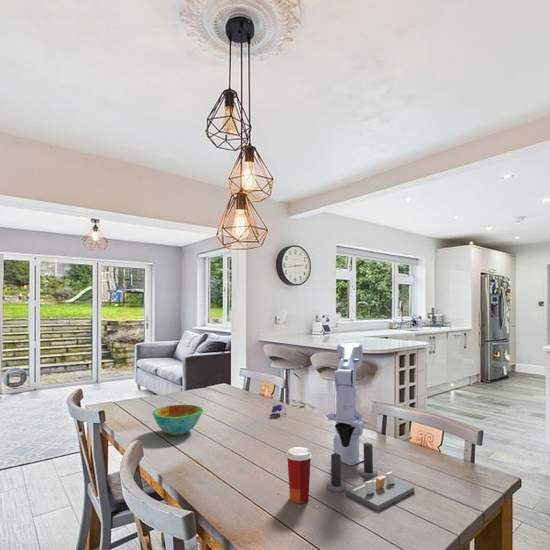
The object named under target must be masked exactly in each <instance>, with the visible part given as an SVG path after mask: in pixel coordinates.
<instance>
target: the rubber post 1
mask: <svg viewBox="0 0 550 550" xmlns="http://www.w3.org/2000/svg"><path fill="white" fill-rule="evenodd" d="M341 463H342V462H341V456H340V455H339V454H334V453H331V454H330V464H331V465H330V468H331V469H330V470H331V471H330V472H331V475H330V476H331V477H330V479H331V480H329V481H327V482H326V489H327V491H329V492H332V493H342V491H343V492H345V491H346V490H345V489H347V486H346V483H345V482H344V481H342V469H341V468H342V465H341ZM344 490H345V491H344Z"/></svg>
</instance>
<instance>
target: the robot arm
mask: <svg viewBox="0 0 550 550" xmlns="http://www.w3.org/2000/svg"><path fill="white" fill-rule="evenodd" d="M336 349H337V350H336V355H337V359H338V366H337V370H335V371H334V387H335V393H336V394H335V395H336V413H333V412H331V413H328V414H327V420H328V421H334V422H335V425H334V428H335V433H336V434H334V437H333V443H332V445H333V454H339V455H340V456H341V463H344V464H346V465H348V466H351V467H352V466H354V465H357V464H359V463H362V462H364V457H360V437H361V436H362V435H363V429H365V424H364V421H363V415H362V413H361V412H360V411H359V410H358V409H356V390H357V389H356V382H357V381H356V377H357V371H358V368H361V367H362V364H363V344H362V343H361V342H360V343H349V342H346V343H345V342H338V343H337V346H336Z"/></svg>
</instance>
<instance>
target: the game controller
mask: <svg viewBox="0 0 550 550" xmlns="http://www.w3.org/2000/svg"><path fill="white" fill-rule="evenodd" d="M271 404H273V406H272V409H271V414H272V413H273V414H275V415H276V414H279V412H282V411H283V405H282V404H276V405H275V403H274V402H273V403H269V404H268V406H267V409H268V407H269V406H270V405H271ZM284 409H285V411H287V410H286V408H284ZM283 414H284V415H285V416H286V415H287V412H285V413H283ZM279 415H280V417H282V415H281V414H279ZM284 415H283V416H284Z"/></svg>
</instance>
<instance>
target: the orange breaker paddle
mask: <svg viewBox="0 0 550 550" xmlns="http://www.w3.org/2000/svg"><path fill="white" fill-rule="evenodd" d="M384 481H385V477H383V476H380V477H377V478H376V486H375V487H376V488H377V489H380V488H382V487H384Z"/></svg>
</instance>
